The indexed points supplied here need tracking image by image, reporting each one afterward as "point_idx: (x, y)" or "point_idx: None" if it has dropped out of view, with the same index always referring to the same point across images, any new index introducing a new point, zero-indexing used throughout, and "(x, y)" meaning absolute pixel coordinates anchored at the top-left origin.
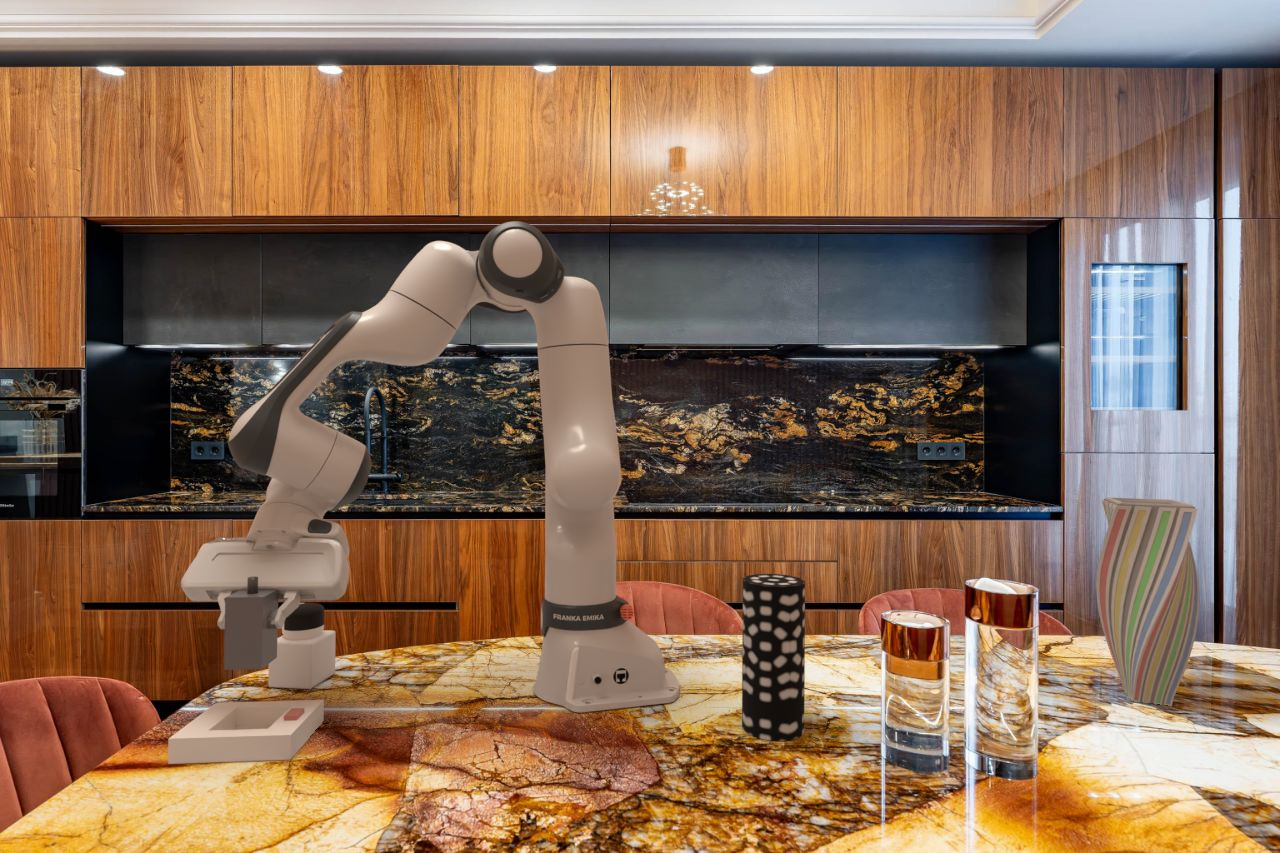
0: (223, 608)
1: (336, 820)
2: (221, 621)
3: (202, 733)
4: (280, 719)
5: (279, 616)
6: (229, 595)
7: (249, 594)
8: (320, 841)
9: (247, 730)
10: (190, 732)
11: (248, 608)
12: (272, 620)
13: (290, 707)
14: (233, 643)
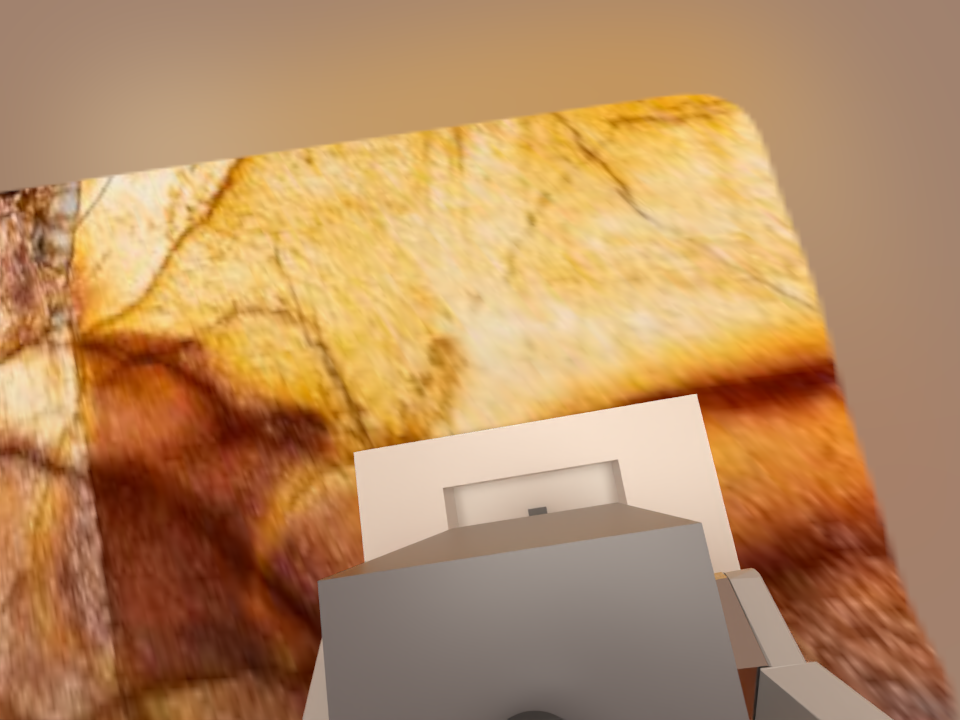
0: (811, 683)
1: (169, 229)
2: (728, 576)
3: (620, 438)
4: None
5: (315, 664)
6: (719, 614)
7: (527, 691)
8: (172, 169)
9: (497, 470)
10: (663, 440)
11: (475, 547)
12: None
13: None
14: (582, 514)
